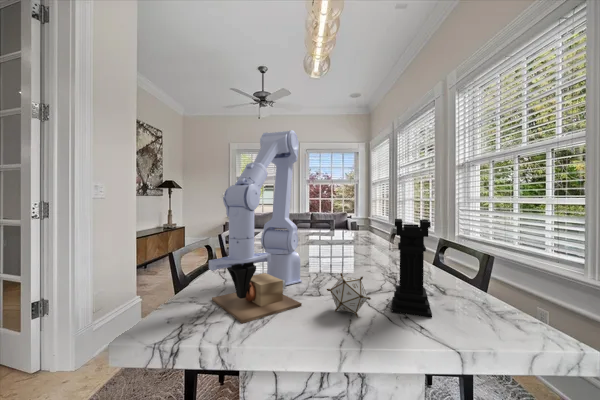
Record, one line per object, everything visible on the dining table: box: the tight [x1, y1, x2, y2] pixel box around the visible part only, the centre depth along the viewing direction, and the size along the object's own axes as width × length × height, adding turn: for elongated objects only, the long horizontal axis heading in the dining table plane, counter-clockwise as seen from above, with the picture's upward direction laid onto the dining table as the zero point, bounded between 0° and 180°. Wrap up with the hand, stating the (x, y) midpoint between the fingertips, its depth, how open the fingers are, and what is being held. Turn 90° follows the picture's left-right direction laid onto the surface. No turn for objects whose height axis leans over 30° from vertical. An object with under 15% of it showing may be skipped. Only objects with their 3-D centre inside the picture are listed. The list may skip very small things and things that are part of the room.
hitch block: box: [211, 272, 303, 324], centre depth 67 cm, size 15×16×5 cm
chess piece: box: [391, 218, 433, 319], centre depth 64 cm, size 8×8×20 cm
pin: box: [245, 279, 287, 302], centre depth 68 cm, size 10×4×4 cm, turn 128°
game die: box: [326, 272, 372, 318], centre depth 62 cm, size 9×8×10 cm
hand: (241, 296), depth 64 cm, fingers closed
